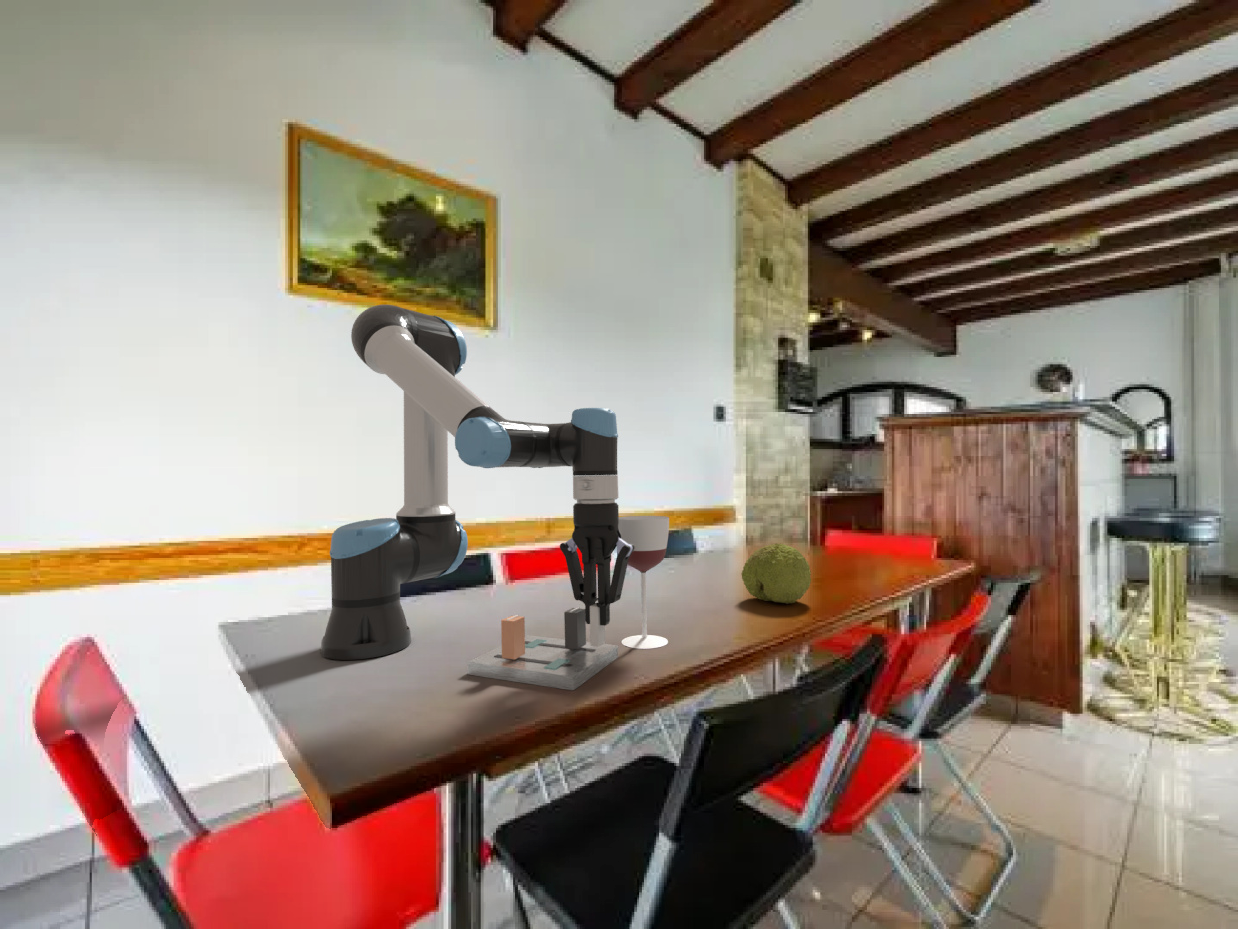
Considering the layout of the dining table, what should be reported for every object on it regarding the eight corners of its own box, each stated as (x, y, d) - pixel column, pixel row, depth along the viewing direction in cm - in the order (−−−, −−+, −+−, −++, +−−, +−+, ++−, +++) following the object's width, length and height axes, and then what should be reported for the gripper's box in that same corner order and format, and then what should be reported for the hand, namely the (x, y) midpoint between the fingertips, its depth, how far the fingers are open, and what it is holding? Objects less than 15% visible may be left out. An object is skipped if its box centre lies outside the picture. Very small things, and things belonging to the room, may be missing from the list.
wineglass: (668, 650, 101) (665, 519, 102) (613, 647, 103) (610, 519, 104) (674, 635, 110) (671, 515, 111) (623, 633, 112) (620, 515, 113)
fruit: (733, 605, 134) (727, 544, 141) (765, 617, 143) (758, 559, 150) (796, 591, 124) (786, 526, 131) (827, 604, 133) (816, 543, 140)
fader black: (565, 648, 96) (564, 610, 96) (573, 643, 99) (572, 606, 99) (577, 649, 95) (577, 611, 95) (586, 644, 98) (585, 607, 98)
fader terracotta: (501, 657, 91) (501, 618, 92) (512, 652, 94) (512, 614, 94) (514, 659, 91) (513, 620, 91) (525, 653, 93) (524, 615, 93)
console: (467, 674, 91) (467, 661, 91) (523, 645, 106) (523, 634, 106) (573, 690, 83) (573, 676, 83) (618, 657, 98) (617, 644, 98)
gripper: (550, 502, 95) (552, 646, 94) (622, 503, 89) (625, 655, 89) (571, 500, 102) (574, 634, 101) (640, 500, 96) (642, 641, 96)
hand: (598, 644), depth 95 cm, fingers closed
